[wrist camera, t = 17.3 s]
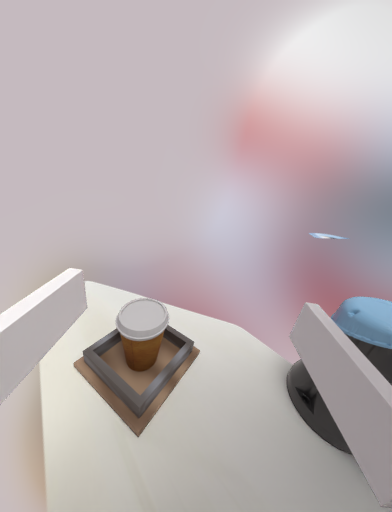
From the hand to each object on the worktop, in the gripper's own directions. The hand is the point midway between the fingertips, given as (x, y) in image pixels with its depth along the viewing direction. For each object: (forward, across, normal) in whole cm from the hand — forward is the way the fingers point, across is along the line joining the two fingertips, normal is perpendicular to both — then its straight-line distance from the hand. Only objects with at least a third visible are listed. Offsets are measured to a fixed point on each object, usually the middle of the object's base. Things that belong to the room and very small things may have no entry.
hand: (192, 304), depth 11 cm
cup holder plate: (+17, -8, -30) cm, 35 cm away
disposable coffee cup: (+17, -8, -29) cm, 35 cm away
